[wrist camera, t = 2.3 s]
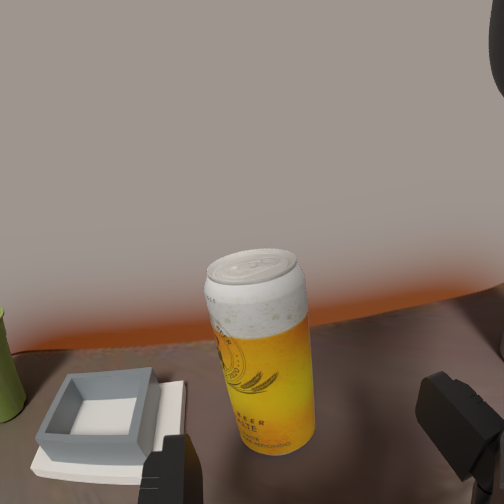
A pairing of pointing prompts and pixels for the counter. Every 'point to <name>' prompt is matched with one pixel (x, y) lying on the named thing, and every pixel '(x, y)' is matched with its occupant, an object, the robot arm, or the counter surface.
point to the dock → (108, 426)
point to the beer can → (264, 346)
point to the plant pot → (8, 380)
